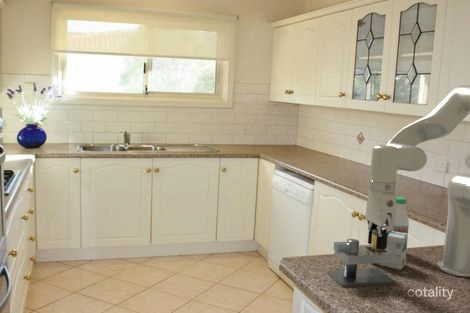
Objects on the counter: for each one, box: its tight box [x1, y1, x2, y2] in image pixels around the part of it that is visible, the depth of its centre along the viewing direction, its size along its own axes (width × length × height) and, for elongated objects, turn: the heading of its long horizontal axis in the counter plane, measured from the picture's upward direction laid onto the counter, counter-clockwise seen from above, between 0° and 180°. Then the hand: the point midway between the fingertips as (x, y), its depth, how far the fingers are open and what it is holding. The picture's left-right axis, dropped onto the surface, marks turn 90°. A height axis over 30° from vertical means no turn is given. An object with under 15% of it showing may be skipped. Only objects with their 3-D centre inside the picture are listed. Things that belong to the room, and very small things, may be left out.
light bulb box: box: [369, 228, 409, 271], centre depth 160 cm, size 11×7×11 cm, turn 59°
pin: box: [371, 229, 384, 265], centre depth 146 cm, size 3×3×10 cm
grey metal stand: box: [327, 238, 396, 288], centre depth 145 cm, size 18×10×12 cm, turn 104°
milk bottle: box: [393, 196, 410, 240], centre depth 171 cm, size 8×8×20 cm
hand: (376, 245), depth 146 cm, fingers open, 4 cm apart
